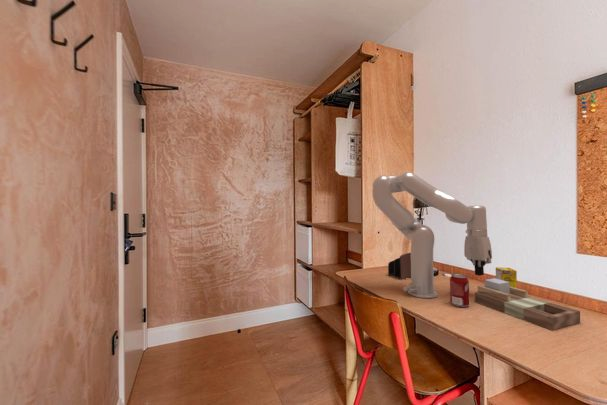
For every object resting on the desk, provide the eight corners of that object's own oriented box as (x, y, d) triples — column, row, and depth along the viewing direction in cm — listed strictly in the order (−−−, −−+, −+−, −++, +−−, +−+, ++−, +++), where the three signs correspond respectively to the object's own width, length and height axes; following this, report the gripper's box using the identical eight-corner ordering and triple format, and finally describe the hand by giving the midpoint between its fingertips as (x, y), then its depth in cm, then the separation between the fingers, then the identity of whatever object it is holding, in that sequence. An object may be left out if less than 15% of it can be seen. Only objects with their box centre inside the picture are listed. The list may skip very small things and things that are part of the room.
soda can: (462, 309, 106) (462, 278, 106) (446, 303, 112) (446, 274, 112) (473, 306, 109) (472, 276, 109) (456, 300, 115) (456, 272, 115)
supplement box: (517, 295, 120) (517, 270, 120) (502, 294, 121) (501, 270, 121) (510, 290, 126) (509, 267, 126) (495, 290, 127) (495, 267, 127)
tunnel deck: (552, 330, 88) (552, 310, 88) (474, 301, 113) (474, 286, 113) (580, 322, 93) (579, 303, 93) (499, 297, 118) (499, 282, 118)
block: (499, 296, 108) (499, 283, 108) (484, 291, 114) (484, 279, 114) (509, 294, 110) (509, 282, 110) (494, 289, 116) (494, 278, 116)
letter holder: (426, 275, 155) (426, 250, 155) (401, 280, 146) (400, 254, 146) (412, 271, 164) (412, 248, 164) (387, 276, 155) (387, 251, 155)
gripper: (456, 232, 126) (458, 272, 125) (487, 235, 111) (490, 280, 111) (468, 231, 128) (470, 270, 128) (500, 234, 114) (502, 277, 114)
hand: (479, 274), depth 120 cm, fingers closed
